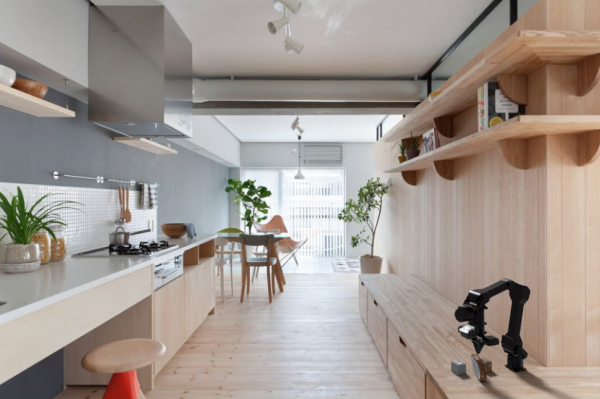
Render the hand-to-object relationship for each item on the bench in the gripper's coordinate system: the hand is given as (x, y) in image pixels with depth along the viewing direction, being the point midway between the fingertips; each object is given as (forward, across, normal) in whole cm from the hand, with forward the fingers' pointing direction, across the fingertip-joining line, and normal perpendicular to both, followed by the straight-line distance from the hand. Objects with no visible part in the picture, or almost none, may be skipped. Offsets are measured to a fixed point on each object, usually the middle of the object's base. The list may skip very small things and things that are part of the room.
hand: (478, 353), depth 163 cm
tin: (+10, 0, 0) cm, 10 cm away
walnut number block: (+10, -4, +7) cm, 13 cm away
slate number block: (+10, -6, -6) cm, 13 cm away
